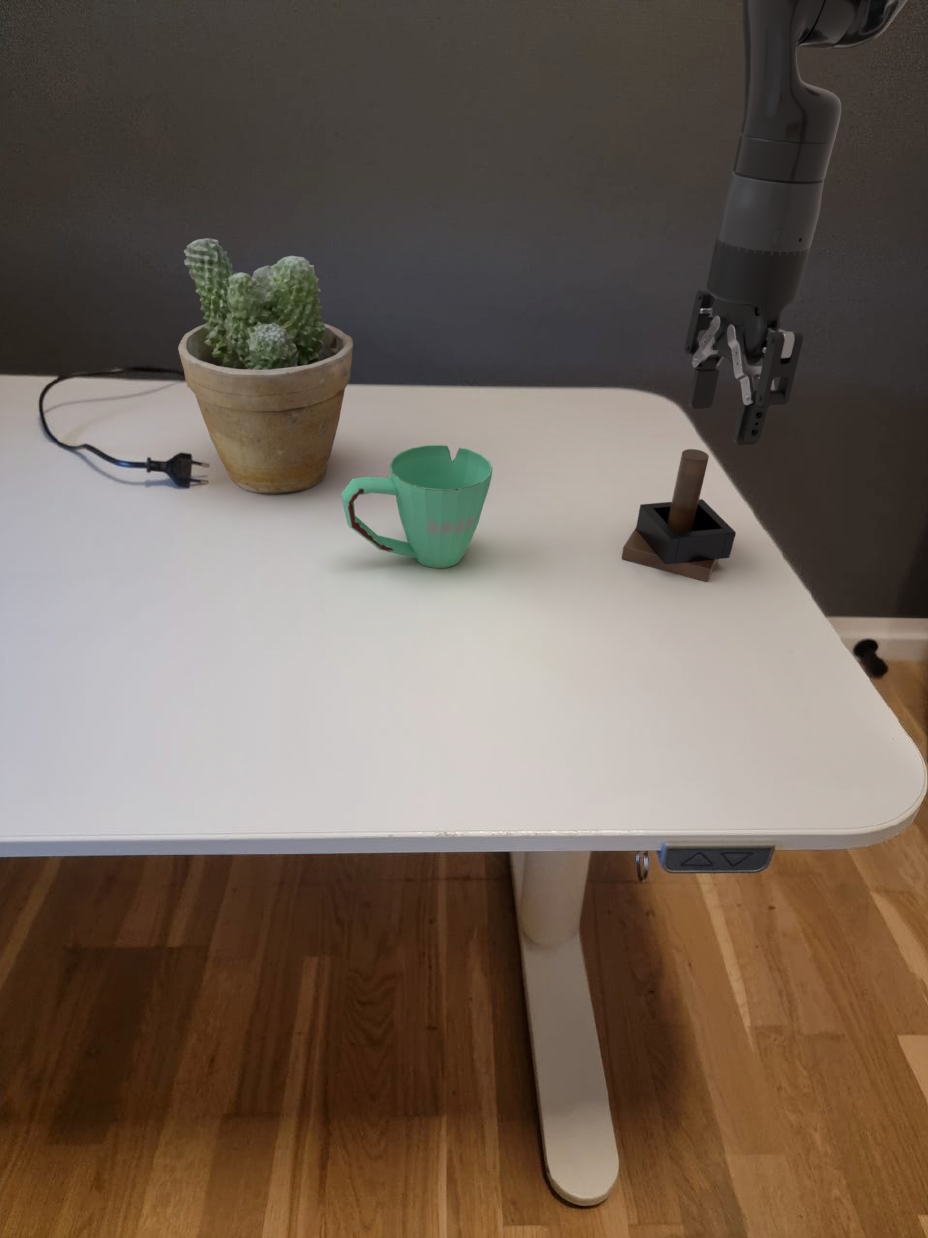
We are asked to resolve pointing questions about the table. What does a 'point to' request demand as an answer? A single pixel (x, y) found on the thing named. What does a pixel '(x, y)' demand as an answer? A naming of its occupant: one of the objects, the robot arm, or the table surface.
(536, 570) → the table surface
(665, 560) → the ring
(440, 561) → the mug
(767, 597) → the table surface
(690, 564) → the post
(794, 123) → the robot arm
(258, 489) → the potted plant
